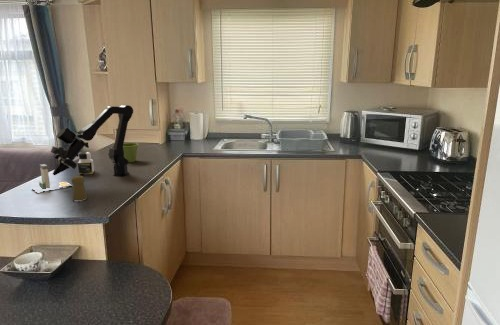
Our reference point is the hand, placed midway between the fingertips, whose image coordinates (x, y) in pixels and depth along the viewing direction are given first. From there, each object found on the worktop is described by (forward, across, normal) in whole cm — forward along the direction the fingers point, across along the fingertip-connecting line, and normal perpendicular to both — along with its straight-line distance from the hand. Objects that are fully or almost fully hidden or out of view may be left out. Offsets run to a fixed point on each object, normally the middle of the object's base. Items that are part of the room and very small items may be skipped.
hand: (53, 174), depth 182 cm
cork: (+3, +29, +6) cm, 30 cm away
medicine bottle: (-10, -18, +20) cm, 29 cm away
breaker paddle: (+7, 0, +1) cm, 7 cm away
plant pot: (-32, -28, +43) cm, 60 cm away
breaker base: (+6, 0, +4) cm, 7 cm away
